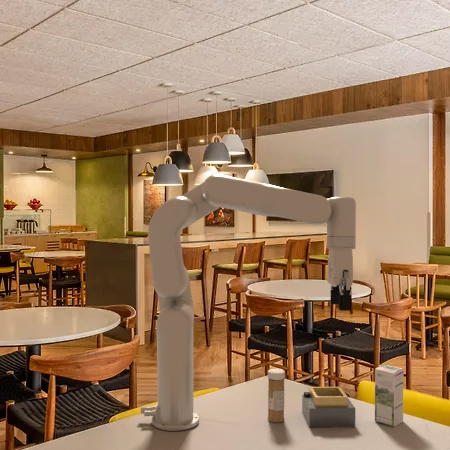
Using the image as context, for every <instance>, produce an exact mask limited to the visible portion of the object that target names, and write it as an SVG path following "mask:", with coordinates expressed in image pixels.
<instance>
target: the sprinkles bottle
mask: <svg viewBox="0 0 450 450" xmlns="http://www.w3.org/2000/svg"><path fill="white" fill-rule="evenodd" d="M267 378H268V385H267V386H268V387H267V388H268V390H267V395H268V397H267V407H268V408H267V415H268V416H267V420H268V421H269V422H270V423H282V422H284V421H285V378H286V372H285V370H284V369H281V368H270V369H269V370H267Z"/></svg>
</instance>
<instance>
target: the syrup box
mask: <svg viewBox="0 0 450 450" xmlns="http://www.w3.org/2000/svg"><path fill="white" fill-rule="evenodd" d="M404 379H405V378H404V368H403V367H402V368H401V367H397V366H392V365H387V364H383V365H379V366H378V367H376V368H374V422H375V423H379V424H382V425H386V426H389V427H394V428H395V427H396V426H399V425H400V424H401V423H403V422H404Z"/></svg>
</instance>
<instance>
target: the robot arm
mask: <svg viewBox="0 0 450 450" xmlns="http://www.w3.org/2000/svg"><path fill="white" fill-rule="evenodd" d="M220 208H224V209H227V210H228V209H229V210H233V211H236V212H237V211H239V212H242V213H247V214H250V215H251V214H252V215H257V216H264V217H277V218H282V219H288V220H293V221H298V222H302V223H305V224H308V225H316V226H317V225H322V224H326V249H328V258H327V277H326V282H327V283H328V284H329V285H330V304H331V305H338V310H339V311H341V312H342V311H344V312H345V311H347V312H350V311H352V309H353V308H352V307H353V304H352V299H353V298H352V297H353V296H352V295H353V293H352V292H353V291H352V289H353V288H352V286H353V285H354V284H353V283H354V260H353V259H354V257H353V250H356V248H357V247H356V243H357V242H356V236H357V235H356V233H357V232H356V227H357V225H356V224H357V222H356V221H357V218H356V217H357V215H356V214H357V212H356V211H357V202H356V200H355V198H354V197H351V196H333V197H329V198H328V197H327V198H326V197H325V196H323V195H319V194H314V193H311V192H310V193H309V192H305V191H300V190H296V189H295V190H294V189H291V188H286V187H285V188H284V187H280V186H276V185H273V184H268V183H263V182H259V181H253V180H249V179H244V178H239V177H234V176H230V175H225V174H220V173H219V174H211V175H209V176H207V177H206V179H204V181H203V182H202V183H200V184H199V185H197V186H195V187H194V188H192V189H191V190H188V191H187V192H184V193H183V194H182V195H180V196H179V195H178V196H174V197H171V198H169V199H168V200H166V201H165V202H163V204H161V205H159V206H158V208H157V209H156V210H155V211H154V213H153V215H152V216H151V219H150V221H149V223H148V224H149V225H148V231H147V234H148V236H147V238H148V247H149V249H148V250H149V259H150V260H149V261H150V267H151V275H152V276H151V277H152V286H153V289H154V291H155V292H156V295H157V300H158V305H159V306H158V307H159V313H158V316H157V319H156V333H155V334H156V346H157V347H156V352H157V354H156V357H157V359H156V361H157V362H156V365H157V402H156V404H152V406H147V405H145V406H144V405H143V406H140V414H141V415H143V414H144V415H143V416H144V417H151V425H152V426H153V427H154V428H157V429H159V430H162V431H170V432H177V431H178V432H180V431H185V430H189V429H193V428H194V427H196V426H198V424H199V422H200V416H199V414H197V413H196V412H195V411H194V324H195V323H194V322H195V310H194V303H193V295H192V294H193V293H192V289H191V281H190V274H189V272H188V269H187V267H186V266H185V264H184V258H183V257H184V256H183V247H182V243H181V242H182V241H181V235H182V231H183V230H184V229H185V228H188V227H190V226H192V225H193V224H195V223H197V222H198V221H200V220H202V219H203V218H205V217H206V216H208V215H210V214H211V213H213V212H214V211H216V210H218V209H220Z"/></svg>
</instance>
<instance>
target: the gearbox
mask: <svg viewBox="0 0 450 450" xmlns="http://www.w3.org/2000/svg"><path fill="white" fill-rule="evenodd" d="M301 397H302V398H301V402H302V403H301V405H302V406H301V411H302V412H301V413H302V415H303V417H304V419H305V421H306V423H307V425H308V427H309V428H310V429H314V428H315V429H316V428H322V429H323V428H325V429H326V428H356V407H355V406H354V404H353V403H352V402H351V400H350V399H349V397H348V395H347V394H346V393H345V391H344V390H343V389H342V388H341V386H309V387H308V391H304V392H303V394H302V396H301Z"/></svg>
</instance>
